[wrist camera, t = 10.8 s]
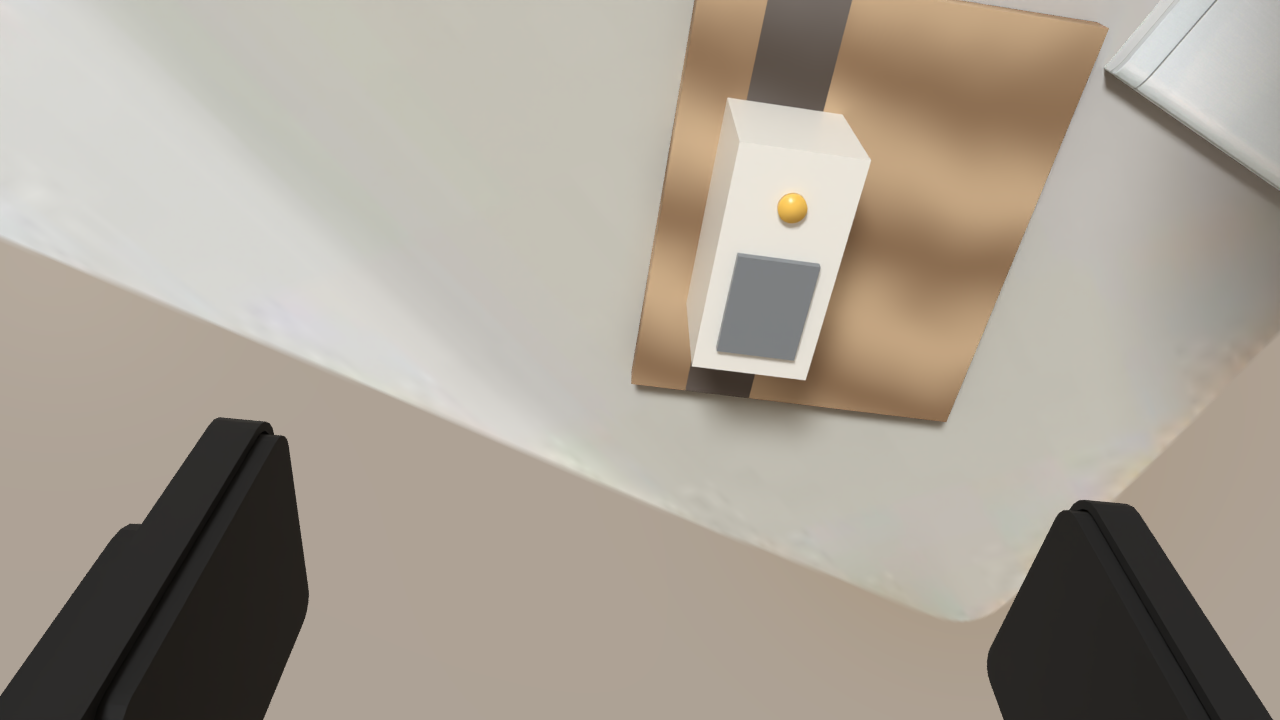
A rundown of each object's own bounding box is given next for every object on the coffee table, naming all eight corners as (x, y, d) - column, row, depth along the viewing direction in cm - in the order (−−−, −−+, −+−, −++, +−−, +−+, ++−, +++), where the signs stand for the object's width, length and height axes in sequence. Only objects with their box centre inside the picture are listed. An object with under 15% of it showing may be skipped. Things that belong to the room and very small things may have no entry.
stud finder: (727, 97, 34) (740, 144, 29) (842, 114, 34) (873, 163, 30) (686, 303, 39) (692, 370, 34) (787, 316, 39) (806, 384, 34)
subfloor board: (701, -41, 32) (703, -37, 31) (1097, 22, 33) (1108, 28, 32) (631, 371, 42) (631, 383, 41) (940, 409, 43) (946, 422, 42)
